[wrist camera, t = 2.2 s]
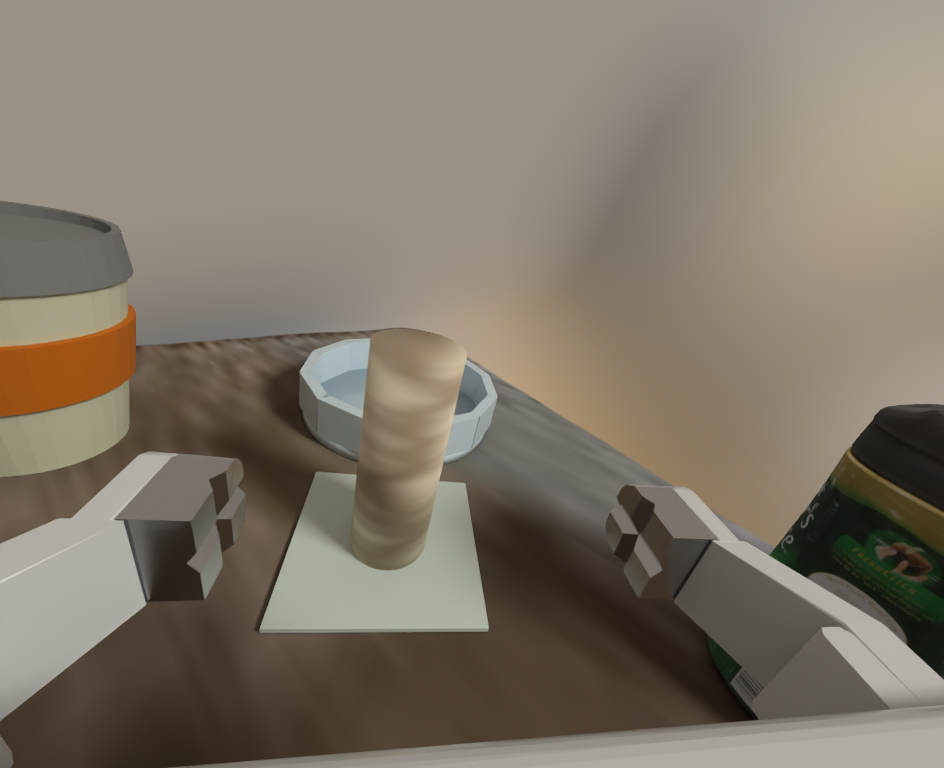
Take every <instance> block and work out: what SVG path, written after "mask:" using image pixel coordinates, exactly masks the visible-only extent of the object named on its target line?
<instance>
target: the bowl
mask: <svg viewBox="0 0 944 768" xmlns="http://www.w3.org/2000/svg"><path fill="white" fill-rule="evenodd" d="M369 347H370V339H348V340H343V341H340V342H337V343H334V344H331V345H328V346H325V347H322V348H320V349H317V350H314V351H312V353H311V355H310V356H309V358H308V359H307V361H306V362H305V364H304V365H303V367H302V368H301V370H300V380H299V406H300V407H301V409H302V411H303V419H304V422H305V425H306V427H307V429H308V430H309V431H310V433H311V434H312V435H313V436H314V437H315V438H316V439H317V440H318V441H319V442H320V443H322V444H323V445H324V446H326V447H327V448H329V449H330V450H332V451H334V452H336V453H338V454H340V455H342V456H344V457H347V458H349V459H352V460H355V461H358V456H359V446H360V436H361V426H362V416H363V406H364V396H365V387H366V377H367V367H368V357H369ZM496 401H497V394H496V392H495V389H494V386H493V384H492V381H491V379H490V376H489V375H488V374H487V373H485V372H484V371H482V370H481V369H479V368H478V367H477V366H475V365H474V364H472V363H471V362H470V361H468V360H467V359H466V363H465V367H464V372H463V376H462V381H461V385H460V390H459V394H458V399H457V403H456V408H455V412H454V417H453V421H452V426H451V430H450V435H449V439H448V444H447V448H446V453H445V457H444V462H443V465H445V464H449V463H451V462H454V461H457V460H459V459H461V458H463V457H465V456H467V455H468V454H470V453H471V452H472V451H474V450H475V449H476V448H477V447H478V445H479V444H480V443H481V441H482V439H483V436H484V433H485V431H486V430H487V429H488V427H489V426H490V423H491V419H492V415H493V412H494V408H495V404H496Z"/></svg>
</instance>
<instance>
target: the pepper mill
mask: <svg viewBox="0 0 944 768" xmlns="http://www.w3.org/2000/svg"><path fill="white" fill-rule="evenodd" d="M466 359H467V353H466V351H465V349H464V348H463V347H462V346H461V345H459V344H458V343H456V342H454V341H452V340H451V339H448V338H446V337H443V336H441V335H437V334H434V333H430V332H426V331H420V330H413V329H388V330H383V331H380V332H377V333H375V334H374V335H373V336H372V337H371V339H370V347H369V357H368V367H367V377H366V387H365V396H364V406H363V416H362V426H361V436H360V446H359V456H358V466H357V475H356V485H355V495H354V505H353V515H352V525H351V535H350V545H351V549H352V551H353V553H354V555H355V556H356V557H357V559H358V560H360V561H361V562H362V563H363V564H365V565H367V566H369V567H371V568H374V569H378V570H397V569H401V568H404V567H406V566H408V565H410V564H411V563H413V562H414V561H415V560H416V559H417V558H418V557H419V556H420V555H421V553H422V552H423V549H424V547H425V542H426V538H427V533H428V529H429V524H430V520H431V515H432V511H433V507H434V502H435V498H436V493H437V489H438V484H439V480H440V475H441V471H442V466H443V462H444V457H445V453H446V448H447V444H448V439H449V435H450V430H451V426H452V421H453V417H454V412H455V408H456V403H457V399H458V394H459V390H460V385H461V381H462V376H463V372H464V367H465V363H466Z"/></svg>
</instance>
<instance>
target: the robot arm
mask: <svg viewBox="0 0 944 768" xmlns="http://www.w3.org/2000/svg"><path fill="white" fill-rule="evenodd" d="M243 477H244V473H243V465H242V462H241V461H240V460H239V459H236V458H224V457H213V456H201V455H190V454H174V453H161V452H146V453H143V454H140V455H139V456H137V457H136V458H135V459H134V460H133V461H132V462H131V463H130V464H129V465H128V466H127V467H126V468H124V469H123V470H122V471H121V472H120V473H119V474H118V475H117V476H116V477H115V478H114V479H113V480H112V481H111V482H109V483H108V484H107V485H106V486H105V487H104V488H103V489H102V490H101V491H100V492H99V493H98V494H97V495H95V496H94V497H93V498H92V499H91V500H90V501H89V502H88V503H87V504H86V505H85V506H84V507H83V508H81V509H80V510H79V511H78V512H77V513H76V514H75V515H74V516H73V517H72V518H71V519H62V518H59V519H56V520H54V521H52V522H49V523H47V524H45V525H42V526H40V527H38V528H36V529H33V530H31V531H29V532H26V533H24V534H22V535H19V536H17V537H15V538H12V539H10V540H8V541H6V542H3V543H1V544H0V721H1V720H2V719H3V718H5V717H6V716H7V715H8V714H10V713H11V712H12V711H13V710H15V709H16V708H17V707H18V706H20V705H21V704H22V703H23V702H25V701H26V700H27V699H28V698H30V697H31V696H32V695H33V694H35V693H36V692H37V691H38V690H40V689H41V688H42V687H44V686H45V685H46V684H47V683H49V682H50V681H51V680H52V679H54V678H55V677H56V676H57V675H59V674H60V673H61V672H62V671H64V670H65V669H66V668H67V667H69V666H70V665H71V664H72V663H74V662H75V661H76V660H77V659H79V658H80V657H81V656H83V655H84V654H85V653H86V652H88V651H89V650H90V649H91V648H93V647H94V646H95V645H96V644H98V643H99V642H100V641H101V640H103V639H104V638H105V637H106V636H108V635H109V634H110V633H111V632H113V631H114V630H115V629H116V628H118V627H119V626H120V625H122V624H123V623H124V622H125V621H127V620H128V619H129V618H130V617H132V616H133V615H134V614H135V613H137V612H138V611H139V610H140V609H142V608H143V607H144V606H145V605H146V602H153V601H188V600H205V598H206V596H207V594H208V593H209V591H210V589H211V587H212V585H213V583H214V581H215V579H216V577H217V576H218V574H219V572H220V570H221V568H222V566H223V562H222V552H223V551H225V550H226V549H228V548H229V547H231V546H232V545H234V543H235V541H236V539H237V537H238V535H239V533H240V531H241V528H242V524H243V521H244V517H245V510H246V495H245V493H244V492H243V491H242V490H241V489H240V488H239V487H238V485H239V483H240V482H241V480H242V478H243ZM617 499H618V502H619V506H617V507H616V508H615V509H613V510H612V511H611V512H610V514H609V516H608V519H607V521H606V537H607V540H608V544H609V546H610V548H611V550H612V552H613V553H614V554H615V555H616V556H617V557H618V558H620V559H621V560H622V561H623V562H624V568H623V572H624V574H625V575H626V577H627V579H628V581H629V583H630V584H631V586H632V588H633V590H634V592H635V593H636V595H637V597H638V599H658V600H674V603H675V604H676V605H677V606H678V607H679V608H680V609H681V610H682V611H683V612H684V613H686V614H687V615H688V616H689V617H690V618H691V619H692V620H693V621H694V622H695V623H696V624H697V625H698V626H699V627H700V628H701V629H702V630H704V631H705V632H706V633H707V634H708V635H709V636H710V637H711V638H712V639H713V640H714V641H715V642H716V643H717V644H718V645H719V646H720V647H722V648H723V649H724V650H725V651H726V652H727V653H728V654H729V655H730V656H731V657H732V658H733V659H734V660H735V661H736V662H737V663H738V664H740V665H741V666H742V667H743V668H744V669H745V670H746V671H747V672H748V673H749V674H750V675H751V676H752V677H753V678H754V679H755V680H756V681H758V682H759V683H760V684H761V685H762V686H763V687H764V689H763V690H762V691H761V692H760V693H759V694H758V695H757V696H756V697H755V699H754V700H753V702H752V710H753V711H754V713H755V714H756V716H757V717H758V719H759V720H752V721H740V722H728V723H715V724H703V725H690V726H678V727H665V728H653V729H641V730H628V731H616V732H603V733H591V734H578V735H566V736H554V737H541V738H529V739H516V740H504V741H491V742H479V743H467V744H454V745H442V746H429V747H417V748H404V749H392V750H380V751H367V752H355V753H343V754H330V755H318V756H306V757H293V758H281V759H269V760H256V761H244V762H232V763H219V764H207V765H195V766H182V767H170V768H944V680H943V679H942V678H941V677H940V676H939V675H938V674H937V673H936V672H935V671H934V670H933V669H932V668H930V667H929V666H928V665H927V664H926V663H925V662H924V661H923V660H922V659H921V658H920V657H919V656H917V655H916V654H915V653H914V652H913V651H912V650H911V649H910V648H909V647H908V646H907V645H906V644H904V643H903V642H902V641H901V640H900V639H899V638H898V637H897V636H896V635H895V634H894V633H893V632H891V631H890V630H889V629H888V628H887V627H886V626H885V625H884V624H882V623H881V622H879V621H877V620H876V619H874V618H872V617H871V616H869V615H867V614H866V613H864V612H862V611H861V610H859V609H857V608H856V607H854V606H852V605H851V604H849V603H847V602H846V601H844V600H842V599H841V598H839V597H837V596H836V595H834V594H832V593H831V592H829V591H827V590H826V589H824V588H822V587H821V586H819V585H817V584H816V583H814V582H812V581H811V580H809V579H807V578H806V577H804V576H802V575H800V574H799V573H797V572H795V571H794V570H792V569H790V568H789V567H787V566H785V565H784V564H782V563H780V562H779V561H777V560H775V559H774V558H772V557H770V556H769V555H767V554H765V553H764V552H762V551H760V550H759V549H757V548H755V547H754V546H752V545H750V544H749V543H747V542H742V541H739V540H738V539H737V538H736V537H735V536H734V535H733V534H732V533H731V532H730V530H729V529H728V528H727V527H726V526H725V525H724V524H723V523H722V522H721V521H720V520H719V519H718V518H717V517H716V516H715V514H714V513H713V512H712V511H711V510H710V509H709V508H708V507H707V506H706V505H705V504H704V503H703V502H702V501H701V500H700V499H699V497H698V496H697V495H696V494H695V493H694V492H693V491H692V490H690V489H688V488H686V487H675V486H665V487H662V486H646V485H629V484H626V485H625V486H624V487H623V488H622V489H621V490H620V492H619V494H618V496H617ZM12 765H13V756H12V751H11V750H10V748H9V747H8V745H7V744H6V743H5V741H4V740H3V738H2V737H1V735H0V768H11V766H12Z"/></svg>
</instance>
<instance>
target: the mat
mask: <svg viewBox="0 0 944 768" xmlns="http://www.w3.org/2000/svg"><path fill="white" fill-rule="evenodd" d="M355 485H356V475H353V474H340V473H327V472H316V474H315V476H314V479H313V482H312V485H311V487H310V490H309V493H308V496H307V499H306V501H305V504H304V507H303V510H302V512H301V515H300V518H299V521H298V524H297V526H296V529H295V532H294V535H293V537H292V540H291V543H290V546H289V548H288V551H287V554H286V557H285V560H284V562H283V565H282V568H281V571H280V573H279V576H278V579H277V582H276V585H275V587H274V590H273V593H272V596H271V598H270V601H269V604H268V607H267V609H266V612H265V615H264V618H263V621H262V623H261V626H260V629H259V633H329V632H486V631H488V629H489V627H488V620H487V614H486V608H485V602H484V596H483V590H482V583H481V577H480V571H479V565H478V559H477V553H476V546H475V540H474V534H473V528H472V522H471V516H470V509H469V503H468V497H467V491H466V485H465V483H456V482H443V481H439V484H438V489H437V493H436V498H435V502H434V507H433V511H432V515H431V520H430V524H429V529H428V533H427V538H426V542H425V547H424V549H423V552H422V553H421V555H420V556H419V557H418V558H417V559H416V560H415V561H414V562H413V563H411V564H410V565H408V566H406V567H404V568H401V569H397V570H378V569H374V568H371V567H369V566H367V565H365V564H363V563H362V562H361V561H360V560H358V559H357V557H356V556H355V555H354V553H353V551H352V549H351V545H350V535H351V525H352V515H353V505H354V495H355Z"/></svg>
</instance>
